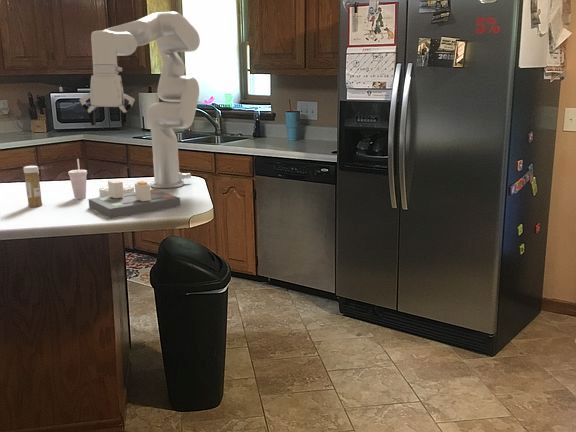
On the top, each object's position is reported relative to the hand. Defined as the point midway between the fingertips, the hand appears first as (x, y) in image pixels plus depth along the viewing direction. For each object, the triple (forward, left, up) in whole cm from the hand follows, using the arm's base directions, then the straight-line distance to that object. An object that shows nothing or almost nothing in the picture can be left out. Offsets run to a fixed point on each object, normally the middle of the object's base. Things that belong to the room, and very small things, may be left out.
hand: (108, 124), depth 202 cm
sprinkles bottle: (+21, -16, -27) cm, 38 cm away
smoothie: (+5, -18, -27) cm, 33 cm away
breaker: (0, +3, -23) cm, 24 cm away
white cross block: (-7, -14, -27) cm, 31 cm away
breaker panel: (-4, +8, -27) cm, 28 cm away
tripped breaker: (-5, +13, -23) cm, 27 cm away
